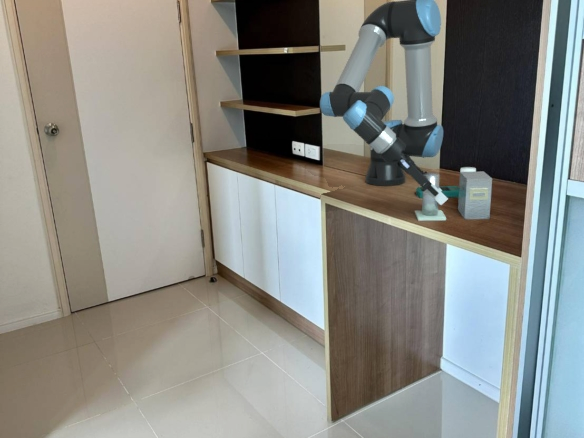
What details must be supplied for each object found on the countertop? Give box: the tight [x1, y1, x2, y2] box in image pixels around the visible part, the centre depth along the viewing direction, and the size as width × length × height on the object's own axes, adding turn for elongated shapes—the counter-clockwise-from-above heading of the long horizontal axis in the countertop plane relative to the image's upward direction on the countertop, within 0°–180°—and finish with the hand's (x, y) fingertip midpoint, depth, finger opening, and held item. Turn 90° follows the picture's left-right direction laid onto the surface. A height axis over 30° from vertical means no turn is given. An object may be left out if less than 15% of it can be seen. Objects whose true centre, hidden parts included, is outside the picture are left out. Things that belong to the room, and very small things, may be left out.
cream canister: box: [459, 166, 477, 173], centre depth 169 cm, size 5×5×12 cm
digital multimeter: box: [415, 185, 459, 199], centre depth 185 cm, size 7×15×3 cm, turn 85°
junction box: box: [457, 170, 493, 220], centre depth 160 cm, size 11×7×12 cm, turn 174°
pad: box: [414, 209, 447, 222], centre depth 161 cm, size 8×8×1 cm
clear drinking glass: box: [421, 172, 440, 216], centre depth 159 cm, size 5×5×12 cm
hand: (441, 197), depth 159 cm, fingers open, 9 cm apart
